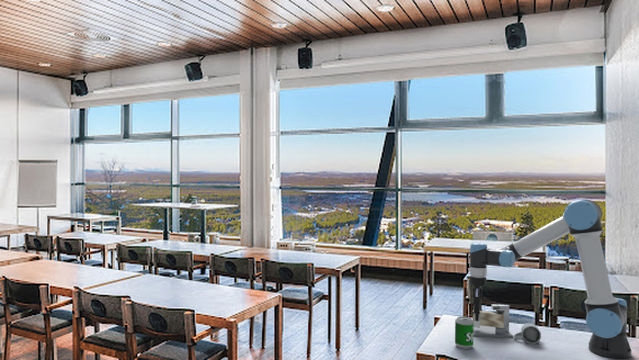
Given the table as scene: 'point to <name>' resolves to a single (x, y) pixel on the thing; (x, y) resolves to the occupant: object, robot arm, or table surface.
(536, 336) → the ceramic mug
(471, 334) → the soda can
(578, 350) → the table surface
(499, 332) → the board
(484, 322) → the lever link
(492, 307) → the block
